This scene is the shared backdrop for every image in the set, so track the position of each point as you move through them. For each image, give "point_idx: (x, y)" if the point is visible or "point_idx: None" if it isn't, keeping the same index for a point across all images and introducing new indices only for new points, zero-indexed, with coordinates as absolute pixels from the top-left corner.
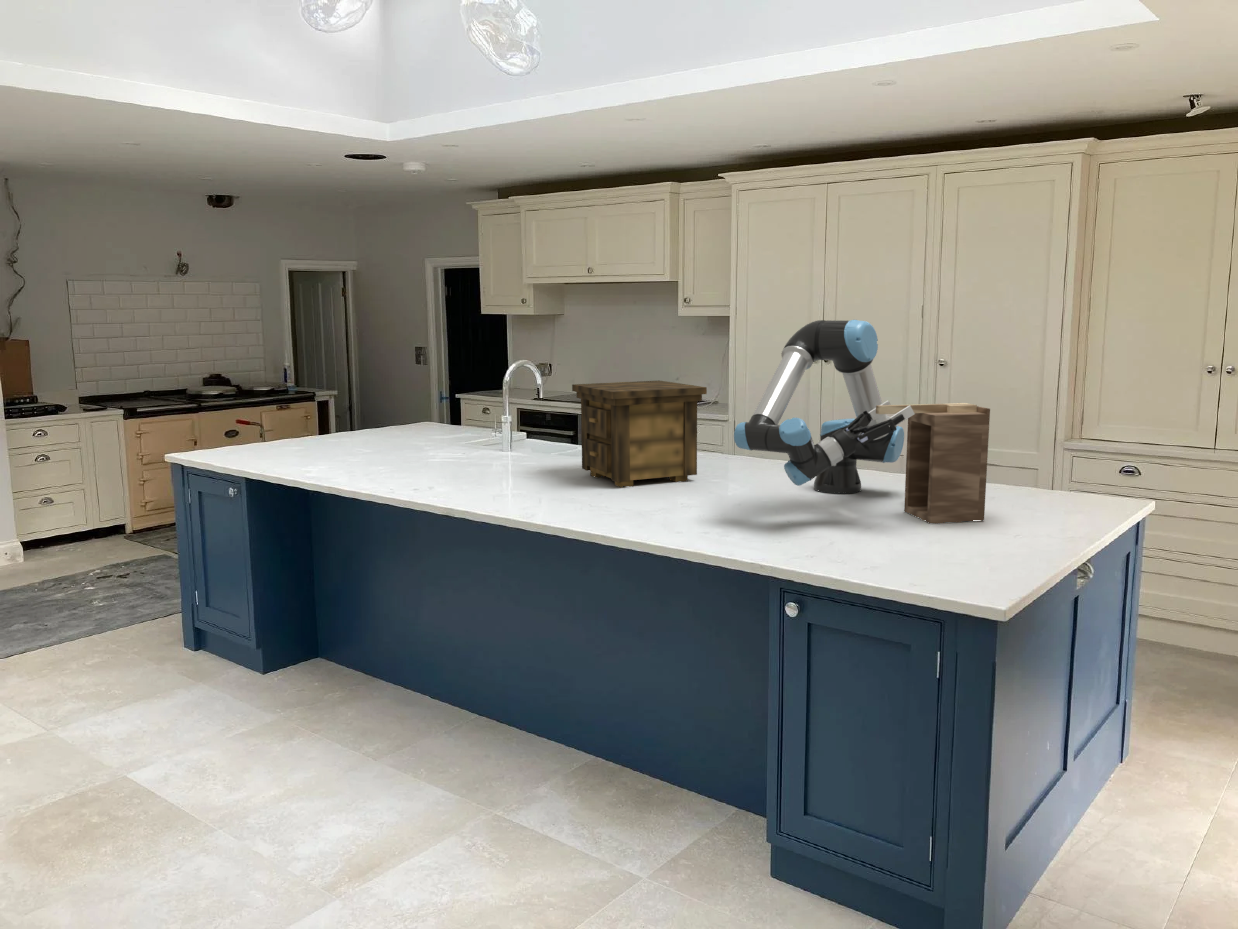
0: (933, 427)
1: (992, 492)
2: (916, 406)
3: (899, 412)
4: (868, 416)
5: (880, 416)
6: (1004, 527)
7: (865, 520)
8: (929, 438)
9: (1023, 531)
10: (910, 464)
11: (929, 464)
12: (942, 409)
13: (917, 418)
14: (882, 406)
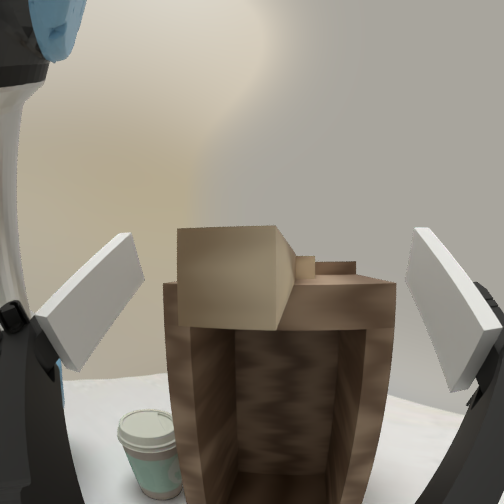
0: (385, 332)
1: (165, 394)
2: (292, 255)
3: (462, 270)
4: (39, 347)
5: (104, 333)
6: (385, 465)
7: None
8: (215, 369)
9: (411, 453)
10: (202, 464)
11: (219, 433)
12: (295, 270)
13: None
14: (278, 233)
